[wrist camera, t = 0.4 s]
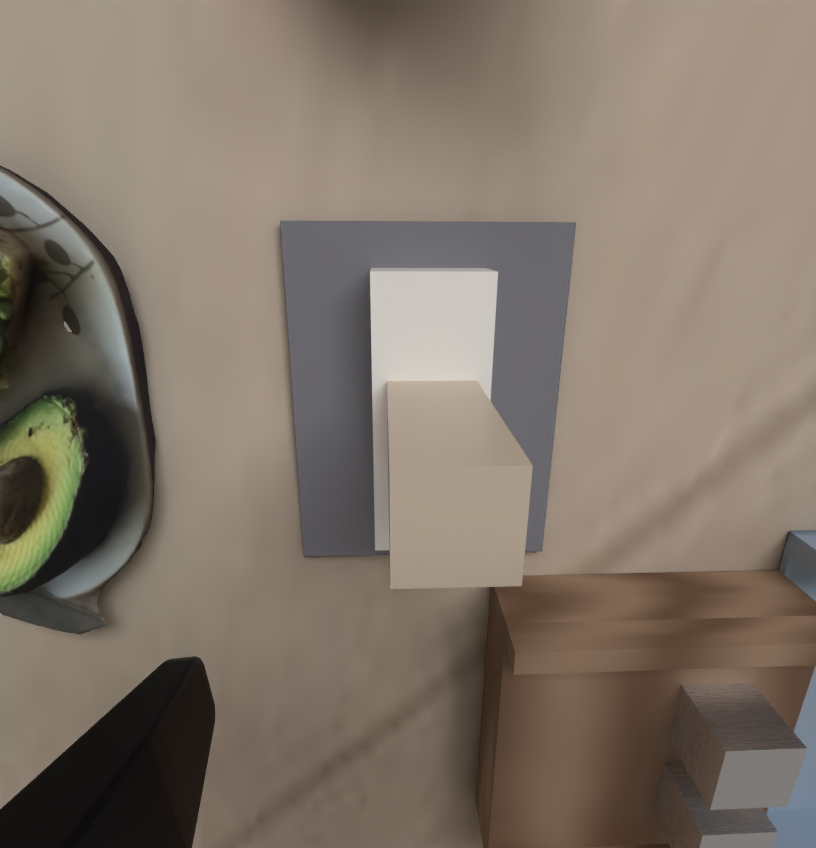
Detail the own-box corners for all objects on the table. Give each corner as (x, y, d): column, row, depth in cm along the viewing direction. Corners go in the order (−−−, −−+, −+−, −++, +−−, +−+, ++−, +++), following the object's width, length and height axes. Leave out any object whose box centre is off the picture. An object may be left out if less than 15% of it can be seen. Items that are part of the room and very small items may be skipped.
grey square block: (730, 759, 23) (778, 832, 20) (716, 807, 24) (760, 882, 22) (664, 762, 23) (702, 835, 20) (652, 810, 24) (688, 886, 21)
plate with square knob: (486, 268, 18) (574, 293, 10) (473, 521, 22) (530, 703, 13) (371, 267, 18) (361, 293, 10) (375, 523, 22) (370, 708, 13)
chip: (752, 682, 22) (807, 748, 19) (737, 736, 23) (786, 806, 20) (681, 684, 22) (726, 751, 19) (669, 738, 23) (710, 810, 20)
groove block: (778, 569, 24) (865, 642, 19) (716, 792, 28) (775, 889, 24) (491, 576, 23) (515, 652, 19) (476, 802, 28) (492, 903, 24)
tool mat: (572, 222, 18) (575, 222, 18) (539, 546, 23) (542, 551, 22) (282, 221, 18) (280, 220, 18) (305, 551, 22) (303, 556, 22)
